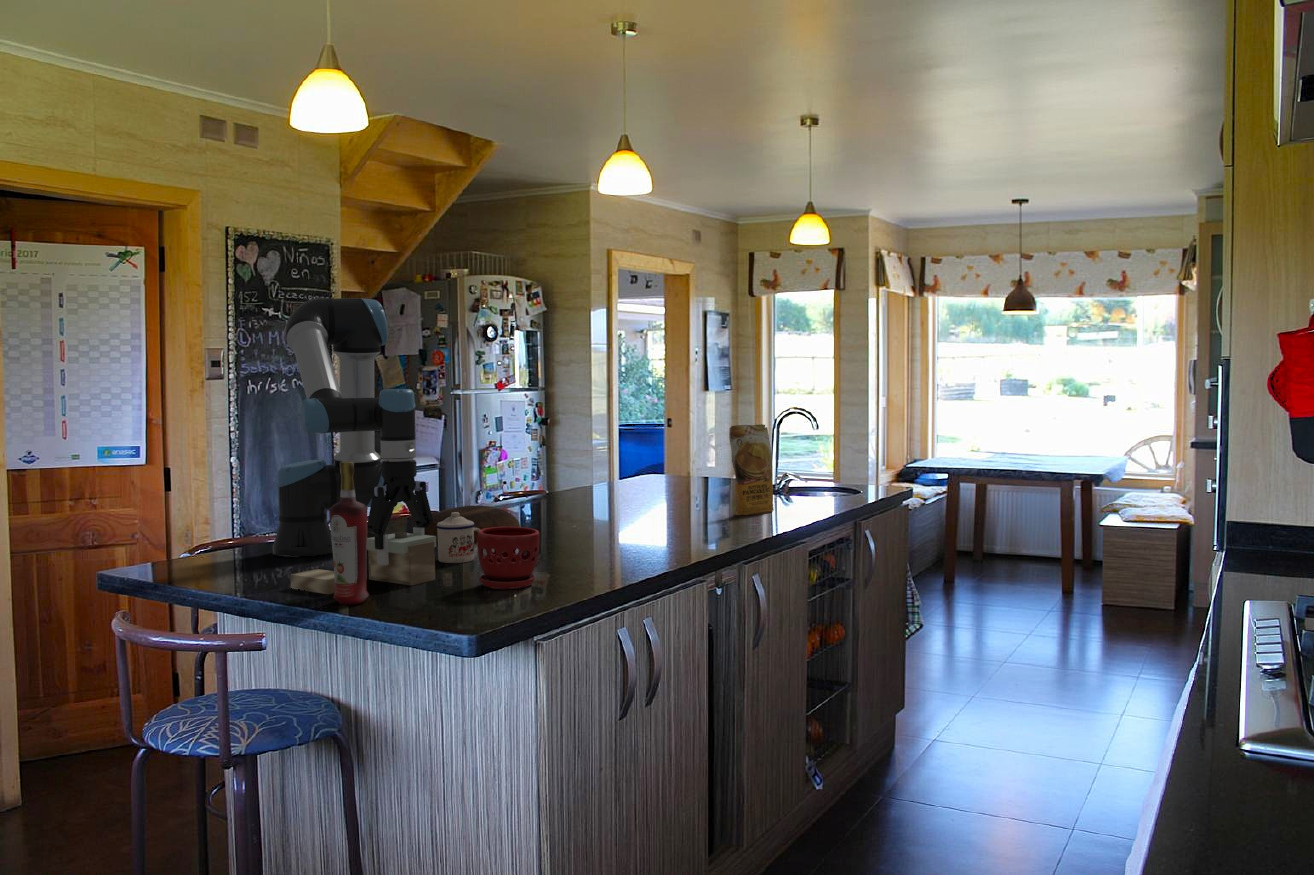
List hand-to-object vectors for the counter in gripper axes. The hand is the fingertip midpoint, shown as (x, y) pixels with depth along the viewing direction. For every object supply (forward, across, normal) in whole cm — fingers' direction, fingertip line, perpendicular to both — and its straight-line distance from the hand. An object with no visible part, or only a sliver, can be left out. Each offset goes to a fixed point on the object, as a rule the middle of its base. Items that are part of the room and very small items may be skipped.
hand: (401, 560), depth 230 cm
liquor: (+5, -21, -8) cm, 23 cm away
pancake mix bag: (+5, +131, -18) cm, 132 cm away
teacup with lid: (+5, +25, +6) cm, 26 cm away
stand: (+4, -15, +8) cm, 18 cm away
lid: (-3, 0, 0) cm, 3 cm away
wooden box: (+4, 0, 0) cm, 4 cm away
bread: (+5, +52, +29) cm, 60 cm away
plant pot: (+5, +7, -25) cm, 26 cm away
